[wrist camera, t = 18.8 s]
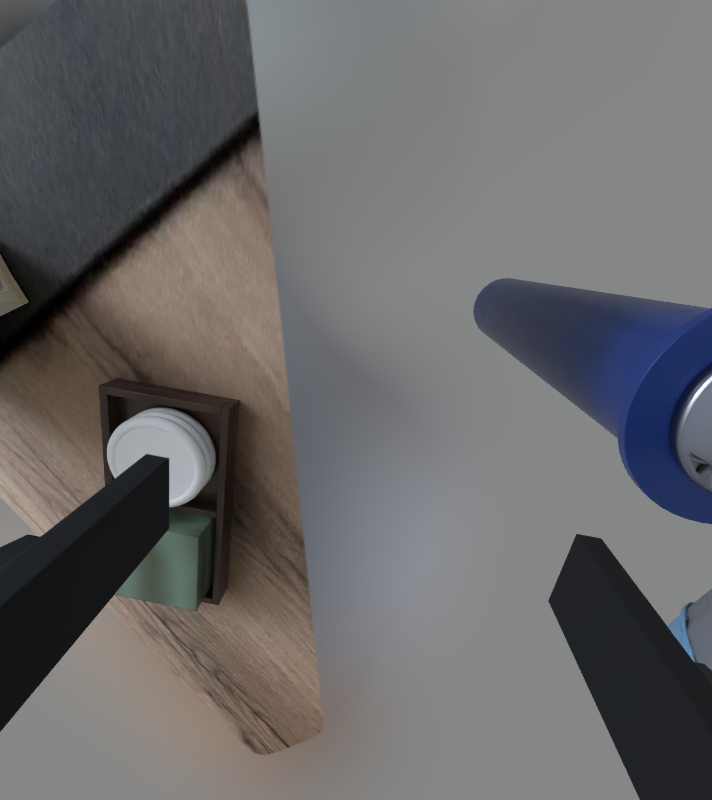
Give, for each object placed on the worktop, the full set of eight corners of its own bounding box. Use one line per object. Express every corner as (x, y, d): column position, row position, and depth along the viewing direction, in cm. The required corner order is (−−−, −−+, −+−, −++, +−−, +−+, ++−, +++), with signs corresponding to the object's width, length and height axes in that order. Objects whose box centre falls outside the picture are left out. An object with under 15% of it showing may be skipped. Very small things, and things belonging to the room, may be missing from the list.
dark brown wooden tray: (239, 400, 41) (218, 419, 36) (227, 587, 49) (209, 623, 44) (116, 377, 41) (79, 393, 36) (125, 567, 50) (96, 601, 45)
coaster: (108, 426, 42) (83, 441, 39) (185, 390, 40) (166, 402, 36) (160, 503, 45) (142, 522, 41) (235, 472, 42) (222, 490, 39)
